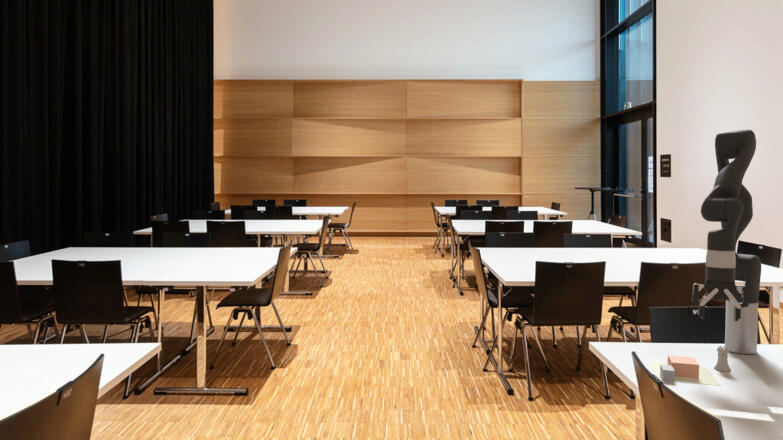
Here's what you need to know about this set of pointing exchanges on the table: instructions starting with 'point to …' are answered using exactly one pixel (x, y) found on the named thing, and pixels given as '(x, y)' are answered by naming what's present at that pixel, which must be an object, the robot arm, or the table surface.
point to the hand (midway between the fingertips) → (718, 319)
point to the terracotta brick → (684, 366)
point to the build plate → (704, 377)
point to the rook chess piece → (722, 360)
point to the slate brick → (667, 372)
